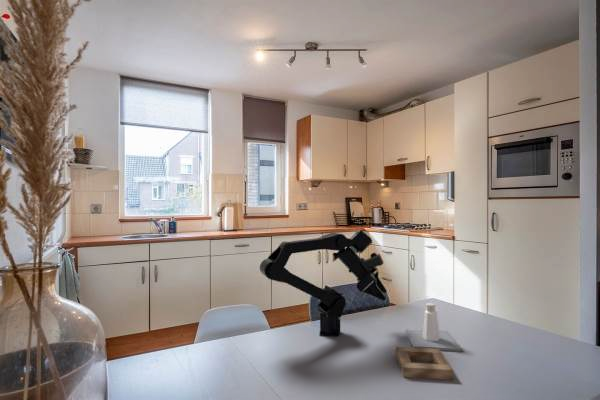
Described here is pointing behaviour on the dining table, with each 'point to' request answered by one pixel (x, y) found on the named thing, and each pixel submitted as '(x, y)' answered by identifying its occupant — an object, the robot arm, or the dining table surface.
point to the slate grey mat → (443, 344)
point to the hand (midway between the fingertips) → (385, 295)
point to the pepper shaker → (430, 324)
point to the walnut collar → (419, 370)
